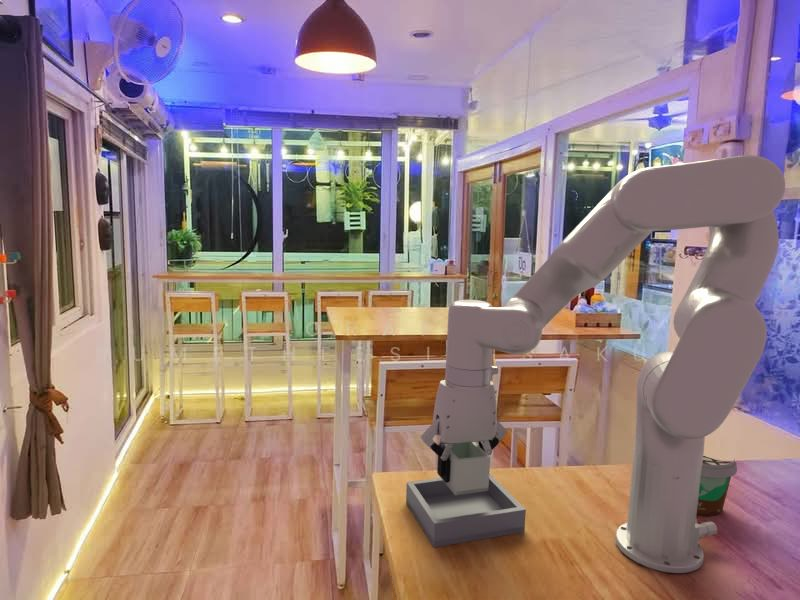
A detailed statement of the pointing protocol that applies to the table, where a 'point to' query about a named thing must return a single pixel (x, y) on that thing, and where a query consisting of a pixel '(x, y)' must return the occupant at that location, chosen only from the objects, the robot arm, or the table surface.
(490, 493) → the big crate
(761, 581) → the table surface
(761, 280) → the robot arm
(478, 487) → the small crate
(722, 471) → the food container
